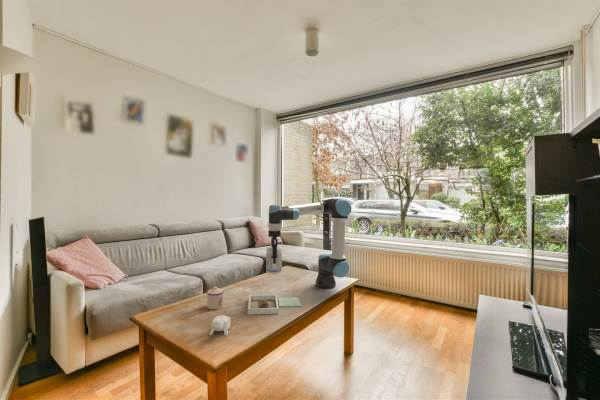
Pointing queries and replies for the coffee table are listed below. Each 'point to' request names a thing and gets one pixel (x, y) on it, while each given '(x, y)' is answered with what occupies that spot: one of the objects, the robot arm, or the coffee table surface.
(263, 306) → the walnut block
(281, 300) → the mat
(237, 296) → the coffee table surface
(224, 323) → the white animal figurine
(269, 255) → the supplement tub
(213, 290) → the teacup with lid
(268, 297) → the parts tray
